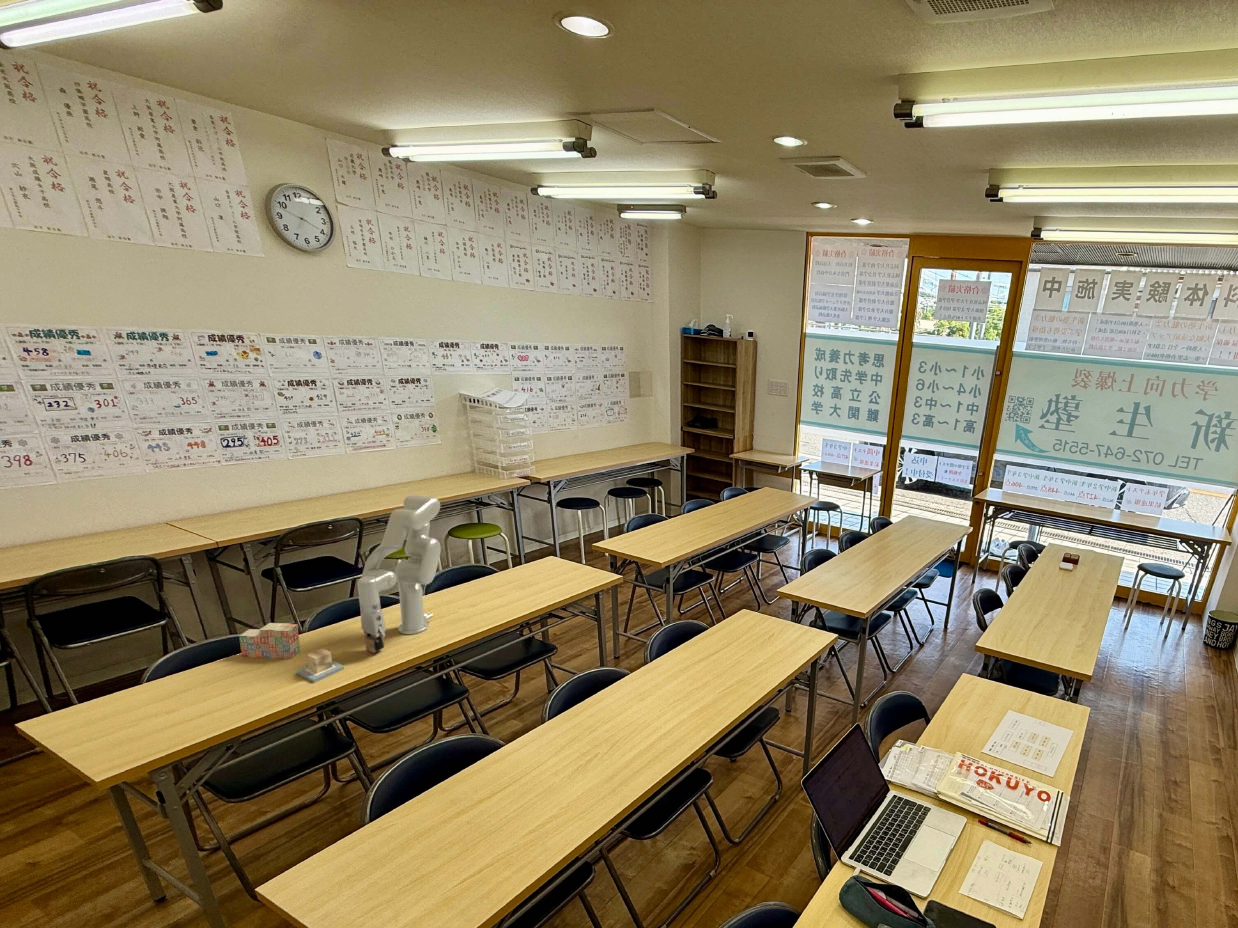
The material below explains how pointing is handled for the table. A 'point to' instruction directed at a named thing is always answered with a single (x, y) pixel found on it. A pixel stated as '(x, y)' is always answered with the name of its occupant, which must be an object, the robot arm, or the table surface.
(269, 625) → the stack of blocks
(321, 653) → the oak block
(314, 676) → the base board
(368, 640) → the walnut cube
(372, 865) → the table surface
